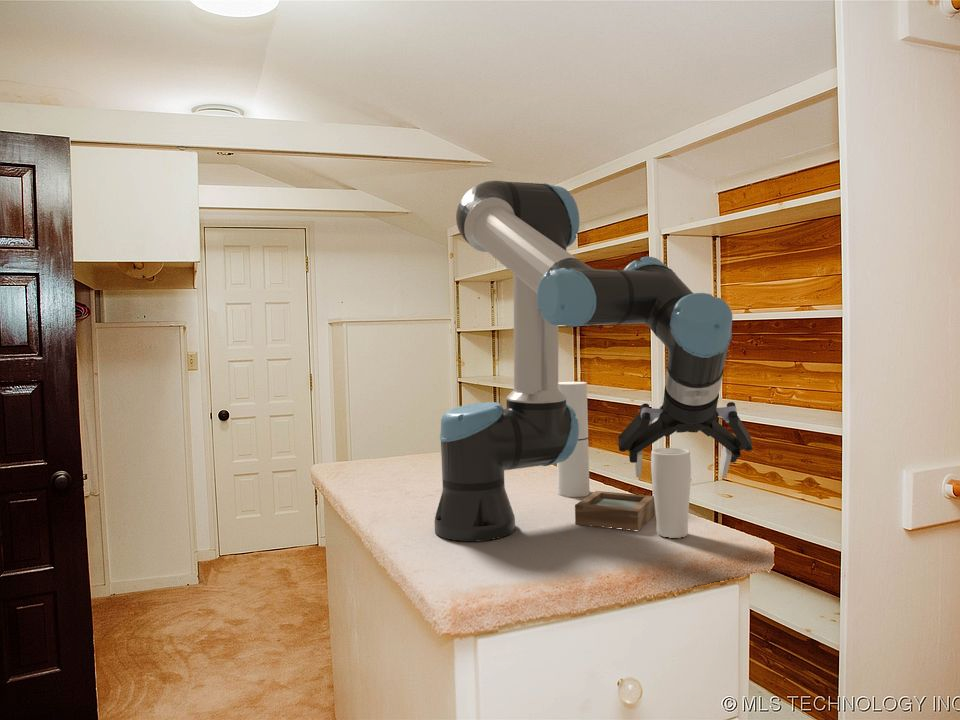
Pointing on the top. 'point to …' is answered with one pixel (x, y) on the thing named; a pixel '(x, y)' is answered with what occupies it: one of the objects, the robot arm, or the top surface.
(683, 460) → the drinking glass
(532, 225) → the robot arm
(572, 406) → the cylindrical container
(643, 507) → the wooden tray
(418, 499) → the top surface
